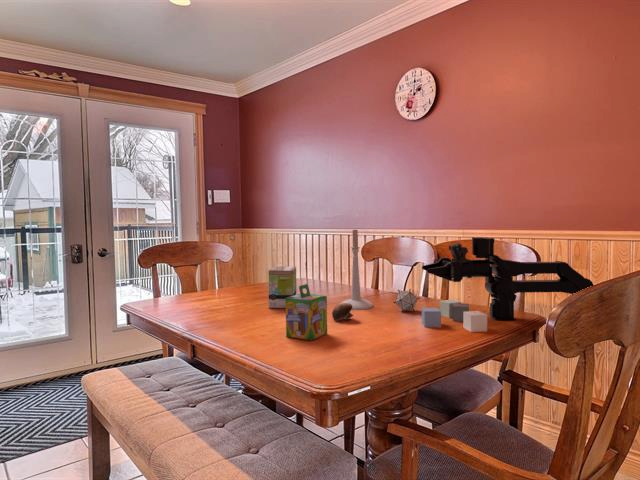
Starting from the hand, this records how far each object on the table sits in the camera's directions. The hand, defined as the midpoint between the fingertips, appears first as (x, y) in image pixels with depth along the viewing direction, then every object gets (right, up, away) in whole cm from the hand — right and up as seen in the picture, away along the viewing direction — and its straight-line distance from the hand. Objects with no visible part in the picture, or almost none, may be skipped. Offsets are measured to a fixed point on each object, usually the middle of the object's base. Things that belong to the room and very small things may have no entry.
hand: (424, 269), depth 141 cm
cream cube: (+12, -17, -14) cm, 25 cm away
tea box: (-50, -16, +28) cm, 59 cm away
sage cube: (+10, -16, +4) cm, 20 cm away
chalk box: (-39, -18, -18) cm, 46 cm away
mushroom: (-27, -17, +1) cm, 32 cm away
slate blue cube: (0, -17, -8) cm, 19 cm away
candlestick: (-21, -16, +22) cm, 35 cm away
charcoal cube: (+11, -17, -2) cm, 20 cm away
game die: (-4, -16, +12) cm, 21 cm away
